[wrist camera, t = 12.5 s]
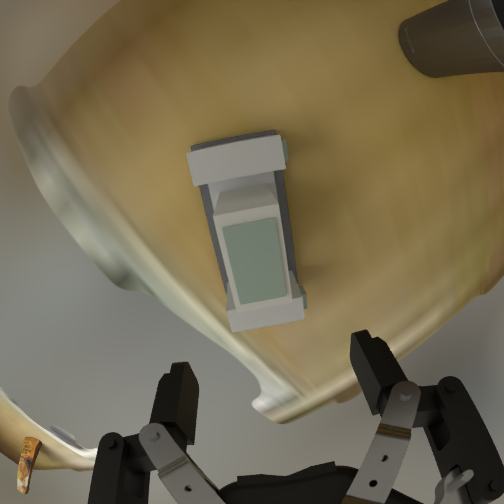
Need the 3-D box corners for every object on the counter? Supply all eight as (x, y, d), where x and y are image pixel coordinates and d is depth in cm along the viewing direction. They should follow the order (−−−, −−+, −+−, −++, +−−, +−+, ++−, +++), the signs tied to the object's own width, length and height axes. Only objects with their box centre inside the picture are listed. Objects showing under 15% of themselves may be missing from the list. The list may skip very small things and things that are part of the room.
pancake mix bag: (49, 446, 62) (32, 499, 36) (33, 445, 65) (17, 490, 39) (36, 436, 59) (17, 489, 34) (21, 436, 62) (4, 482, 37)
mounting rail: (275, 130, 28) (286, 128, 21) (297, 288, 36) (310, 321, 29) (192, 146, 28) (179, 148, 22) (229, 301, 36) (228, 336, 30)
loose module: (265, 183, 29) (279, 204, 20) (278, 259, 32) (293, 304, 24) (219, 192, 29) (212, 217, 20) (236, 267, 32) (237, 314, 24)
